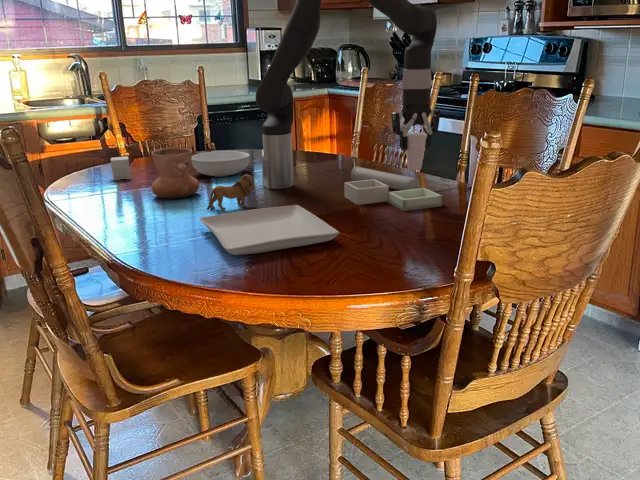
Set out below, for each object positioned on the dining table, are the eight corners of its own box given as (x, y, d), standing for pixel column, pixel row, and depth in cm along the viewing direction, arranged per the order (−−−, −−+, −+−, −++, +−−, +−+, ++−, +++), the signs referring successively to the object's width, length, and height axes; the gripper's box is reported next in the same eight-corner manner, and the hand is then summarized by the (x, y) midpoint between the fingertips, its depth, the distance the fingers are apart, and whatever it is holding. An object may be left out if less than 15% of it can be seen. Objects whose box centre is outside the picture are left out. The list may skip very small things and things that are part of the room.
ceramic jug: (208, 197, 181) (204, 151, 177) (162, 205, 174) (157, 157, 169) (187, 186, 196) (183, 144, 191) (144, 193, 188) (138, 149, 184)
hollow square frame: (357, 204, 169) (357, 189, 168) (344, 196, 178) (344, 182, 176) (388, 201, 172) (388, 185, 171) (374, 193, 181) (374, 179, 179)
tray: (403, 210, 162) (403, 200, 161) (387, 202, 171) (387, 192, 170) (441, 206, 165) (442, 195, 165) (424, 197, 174) (424, 187, 173)
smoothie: (400, 167, 168) (401, 117, 163) (423, 166, 168) (424, 116, 164) (405, 171, 162) (407, 120, 157) (428, 171, 162) (430, 119, 158)
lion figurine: (251, 201, 175) (249, 172, 172) (258, 205, 171) (256, 175, 168) (203, 209, 169) (200, 178, 166) (209, 213, 164) (206, 182, 161)
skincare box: (131, 176, 214) (128, 155, 212) (131, 179, 209) (128, 158, 206) (113, 177, 213) (110, 157, 210) (113, 181, 207) (110, 160, 205)
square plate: (227, 264, 127) (226, 247, 126) (199, 230, 151) (198, 215, 150) (341, 245, 137) (340, 229, 136) (298, 216, 161) (297, 202, 160)
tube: (422, 179, 181) (363, 167, 199) (412, 176, 177) (352, 164, 195) (418, 196, 182) (359, 183, 199) (408, 193, 178) (349, 180, 195)
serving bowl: (261, 175, 210) (260, 155, 208) (206, 183, 199) (204, 163, 197) (234, 166, 227) (233, 148, 225) (183, 173, 216) (181, 155, 214)
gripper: (433, 84, 163) (431, 144, 169) (386, 87, 159) (385, 149, 164) (447, 86, 157) (445, 149, 162) (398, 88, 152) (397, 153, 158)
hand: (415, 148), depth 163 cm, fingers closed on smoothie, 6 cm apart
